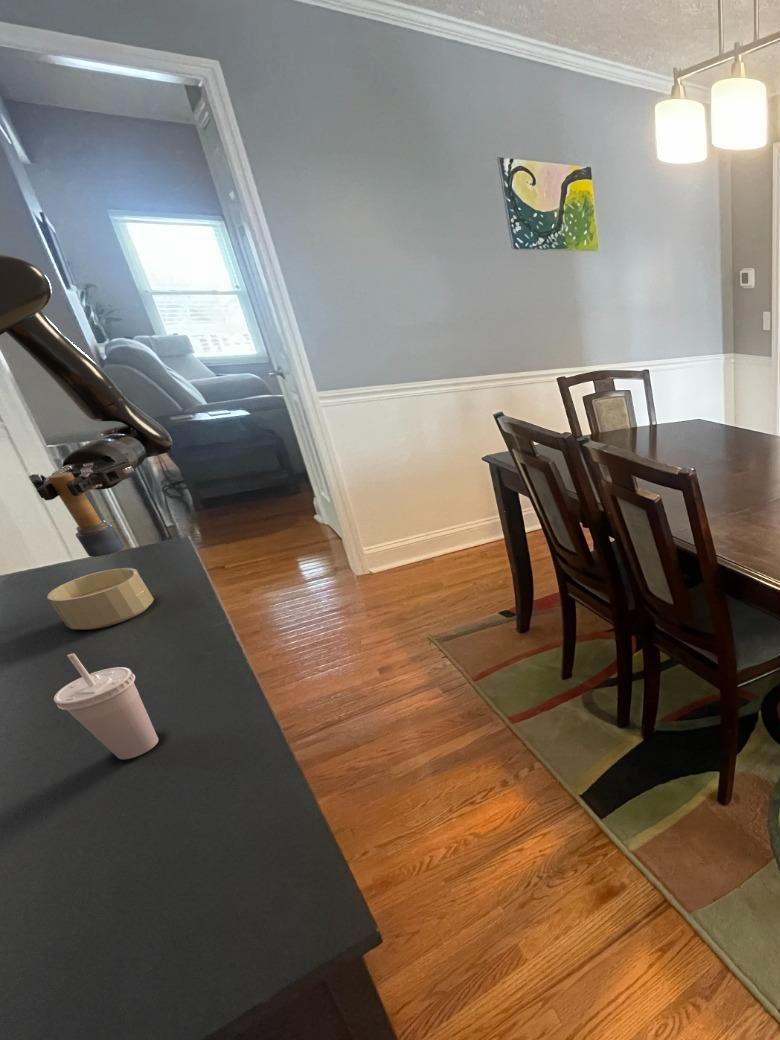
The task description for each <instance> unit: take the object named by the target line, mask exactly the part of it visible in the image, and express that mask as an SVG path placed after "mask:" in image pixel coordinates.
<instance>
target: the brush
mask: <svg viewBox="0 0 780 1040" xmlns="http://www.w3.org/2000/svg"><path fill="white" fill-rule="evenodd" d="M47 477H48V479H49V481H50V482H51V484H52V485H53V487H54V489H55V490H56V492H57V493H58V495H59V496H58V497H59V499H60V500H61V501H62V503H63V504H64V506H65V507H66V509H67V511H68V512H69V514H70V515H71V517H72V519H73V520H74V522H75V524H76V525H77V526H76V528H75V530H76V531H77V532H76V533H75V537H76V539H77V540H78V541H79V543H80V545H81V546H82V548H83V549H84V551H85V553H86V554H87V556H88V557H91V558H96V557H97V558H98V557H102V556H107V555H111V554H114V553H116V552H119V551H121V550H122V549H124V548H125V544H124V543H123V541H122V539H121V538H120V536H119V535H118V533H117V531H116V529H115V528H114V526H113V525H112V524H107V522H106V521H105V520H101V518H100V516H99V515H98V514H97V511H96V510H95V508H94V507H93V505H92V504H91V502H90V500H89V499H88V497H87V495H86V493H85V492H84V493H83V494H81V495H79V496H73V495H72V494H71V492H70V491H69V489H68V487H67V483H68V482H70V481H72V480H73V479H75V477H74V476H73V474H72V473H71V472H64V473H58V474H54V475H52V474H50V475H49V476H47Z"/></svg>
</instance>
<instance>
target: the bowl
mask: <svg viewBox="0 0 780 1040" xmlns="http://www.w3.org/2000/svg"><path fill="white" fill-rule="evenodd" d="M46 596H47V597H46V598H47V600H48V601H49V603H50V605H51V606H52V608H53V609H54V610H55V612H56V613H57V615H58V616H59V617H60V620H61V621H63V623H64V625H65V626H66V628H69V629H71V630H82V631H87V630H98V629H103V628H106V627H107V628H108V627H110V626H113V625H117V624H120V623H122V622H125V621H128V620H130V619H132V618H134V617H136V616H138V615H140V614H142V613H143V612H145V611H146V610H147V609H148V608H149V606H151V605H152V604H153V602H154V600H155V599H154V596H153V594H152V593H151V591H150V590H149V588H148V587H147V585H146V582H145V581H144V580H143V578H142V576H141V575H140V573H139V571H138V570H137V569H135V568H133V567H119V568H112V569H107V570H101V571H97V572H93V573H90V574H86V575H83V576H80V577H77V578H75V579H72V580H70V581H67V582H65V583H63V584H61V585H59V586H57V587H55V588H53V589H51V590H50V592H49V593H48V594H47V595H46Z"/></svg>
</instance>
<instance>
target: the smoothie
mask: <svg viewBox="0 0 780 1040" xmlns="http://www.w3.org/2000/svg"><path fill="white" fill-rule="evenodd" d="M66 657H67V658H68V660H69V661H70V663H72V665H73V667H74V668H75V670H77V672H78V673H79V674H80V676H81V677H79V678H77V679H75V680H73V681H71V682H70V683H68V684H65V686H63V687H62V688H61V689H59V690H58V691H57V692H56V693H55V695H54V697H53V702H54V703H55V704H56V706H57V708H58V709H60V710H62V711H66V712H68V713H69V714H70V715H71V716H72V717H73V718H74V719H75V720H77V722H79V723H80V724H81V725H82V726H83V727H84V729H86V730H87V731H88V732H89V733H90V734H92V735H93V736H94V737H95V738H96V739H97V741H99V742H100V743H101V744H102V745H103V746H105V748H106V749H108V750H109V751H110V752H111V753H112V754H113V755H115V757H116V758H117V759H119V760H130V759H133V758H136V757H139V756H141V755H144V754H145V753H147V752H149V751H150V750H152V749H153V748H154V747H156V745H157V744H158V743H159V736H158V734H157V733H156V730H155V728H154V725H153V723H152V721H151V719H150V716H149V713H148V711H147V710H146V707H145V705H144V703H143V700H142V698H141V696H140V694H139V690H138V689H137V687H136V684H135V680H136V675H135V674H134V673H133V671H132V670H131V669H130V668H128V667H123V666H122V667H121V666H120V667H119V666H117V667H110V668H105V669H101V670H98V671H94V672H91V673H89V672H88V670H87V669H86V668H85V666H84V665H83V664H82V662H81V661H80V659H79V658H78V656H77V655H76V654H75V652H73V653H69V654H67V656H66Z"/></svg>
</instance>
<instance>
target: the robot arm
mask: <svg viewBox="0 0 780 1040" xmlns="http://www.w3.org/2000/svg"><path fill="white" fill-rule="evenodd" d="M50 282H51V281H50V280H49V278H48V277H47V276H46V274H45V272H43V271H42V270H41V269H40V268H39V267H37V266H36V265H34V264H32V263H30V262H29V261H26V260H24V259H21V258H18V257H16V256H15V257H14V256H11V255H7V254H1V253H0V336H2V335H3V334H4V333H6V334H7V335H8V336H9V337H11V338H12V339H13V340H14V341H15V342H16V343H17V344H18V345H19V346H20V347H21V348H22V349H23V350H24V351H25V352H26V353H27V354H28V355H29V356H30V357H31V358H32V359H33V360H34V361H35V362H36V363H37V364H38V365H39V366H40V367H41V368H42V369H43V370H44V371H45V372H46V373H47V375H49V377H50V378H51V379H52V380H53V381H54V382H55V383H56V384H57V386H58V387H59V388H60V389H61V390H62V391H63V392H64V393H65V395H67V397H68V398H69V399H70V400H71V401H72V402H73V403H74V404H75V406H76V407H77V408H78V410H80V411H81V412H82V413H83V415H85V417H87V418H88V419H89V420H92V421H94V422H115V423H116V422H117V423H121V424H122V425H118V426H113V427H110V428H106V429H104V430H101V431H99V432H98V433H97V435H96V437H97V438H96V440H93V441H90V442H89V441H88V442H87V443H85V444H84V445H81V446H80V447H78V448H76V449H74V450H73V451H71V452H69V453H68V454H67V455H66V456H65V458H63V462H62V466H61V469H59V470H55V471H53V472H52V473H51V475H54V474H58V473H64V472H71V473H72V474H73V476H74V477H75V479H73V480H72V481H70V482H68V483H67V487H68V489H69V491H70V492H71V494H72V495H73V496H79V495H81V494H83V493H84V494H85V492H87V491H89V490H92V491H93V490H96V491H97V490H98V491H100V490H101V491H103V490H108V489H112V488H114V487H116V486H117V485H118V484H120V483H121V482H122V481H125V480H127V479H129V478H132V477H133V478H134V477H135V476H137V473H136V471H135V470H136V469H137V468H139V467H140V466H141V464H143V463H144V461H145V460H146V459H147V458H152V457H156V456H160V455H164V454H167V453H168V452H170V451H171V450H172V449H173V439H172V437H171V435H170V433H169V431H167V429H166V428H165V427H163V426H162V424H160V423H159V422H158V421H156V420H155V419H154V418H152V417H151V416H149V415H148V414H147V413H145V412H144V411H142V410H141V409H140V408H139V407H138V406H136V405H135V404H134V403H133V402H131V401H130V400H129V399H128V398H127V397H126V395H124V393H123V392H122V391H121V390H120V388H119V387H118V386H117V384H116V383H115V382H114V381H113V380H112V379H111V378H110V376H109V375H108V374H107V373H106V372H105V371H104V370H103V369H102V368H101V367H100V366H99V365H98V364H97V363H96V362H95V361H93V359H91V358H90V357H89V356H88V355H87V354H85V352H83V351H82V350H81V349H80V348H79V347H77V345H75V344H73V342H71V341H70V339H68V338H67V337H66V336H65V335H64V334H63V333H62V332H61V331H60V330H58V328H57V327H56V326H55V325H54V324H53V323H52V322H51V321H50V319H48V317H47V316H46V315H45V313H44V312H43V310H44V309H45V308H46V307H47V306H48V304H49V303H50V301H51V298H52V293H53V291H52V285H51V283H50ZM48 477H49V476H45V474H35V473H33V474H30V475H29V476H28V478H29V480H30V481H31V484H33V486H34V488H35V490H36V492H37V494H38V495H39V497H40V498H41V499H43V500H44V501H52V500H54V499H56V498H57V497H60V496H59V495H58V493H57V492H56V490H55V489H54V487H53V485H52V484H51V482H50V481H49V479H48Z"/></svg>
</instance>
